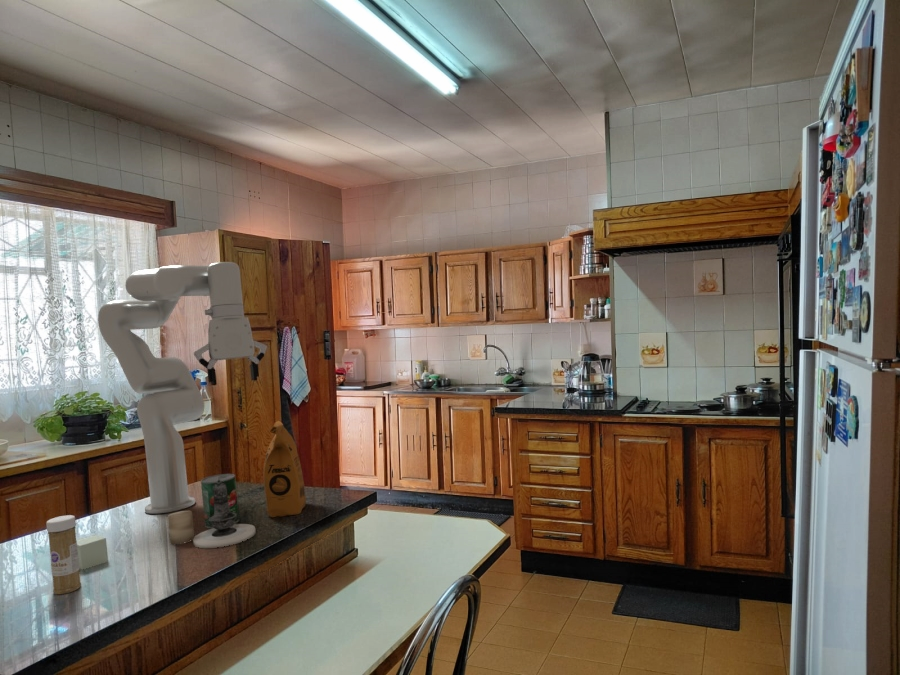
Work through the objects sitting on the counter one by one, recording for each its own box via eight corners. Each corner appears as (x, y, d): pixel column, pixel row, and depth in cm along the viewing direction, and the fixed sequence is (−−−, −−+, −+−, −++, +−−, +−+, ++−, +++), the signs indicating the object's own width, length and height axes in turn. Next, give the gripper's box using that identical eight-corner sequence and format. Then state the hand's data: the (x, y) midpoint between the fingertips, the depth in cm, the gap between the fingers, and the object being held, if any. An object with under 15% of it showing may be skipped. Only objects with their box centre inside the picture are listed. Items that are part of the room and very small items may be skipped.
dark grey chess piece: (210, 531, 142) (204, 478, 142) (237, 526, 144) (232, 474, 144) (210, 539, 137) (204, 484, 137) (238, 533, 139) (233, 479, 139)
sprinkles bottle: (47, 596, 115) (40, 523, 115) (63, 585, 120) (56, 515, 120) (72, 594, 115) (65, 520, 115) (87, 583, 120) (80, 513, 119)
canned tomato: (225, 528, 148) (220, 482, 148) (197, 528, 150) (193, 482, 150) (246, 518, 155) (242, 473, 155) (219, 517, 158) (215, 473, 158)
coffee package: (261, 520, 152) (252, 429, 152) (269, 506, 164) (261, 422, 164) (303, 515, 153) (294, 424, 153) (308, 501, 166) (300, 418, 165)
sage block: (72, 566, 131) (70, 542, 131) (98, 557, 135) (95, 534, 135) (82, 570, 128) (79, 545, 128) (108, 561, 132) (105, 538, 132)
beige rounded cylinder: (168, 540, 143) (166, 514, 142) (192, 535, 145) (189, 509, 145) (171, 546, 138) (169, 519, 138) (196, 540, 141) (193, 513, 141)
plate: (189, 538, 143) (188, 533, 143) (247, 524, 150) (247, 519, 150) (199, 553, 132) (198, 547, 132) (262, 537, 138) (261, 532, 138)
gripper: (192, 314, 147) (199, 387, 148) (267, 309, 156) (273, 378, 157) (187, 316, 154) (194, 386, 154) (259, 311, 163) (265, 378, 163)
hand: (234, 382), depth 155 cm, fingers open, 9 cm apart
